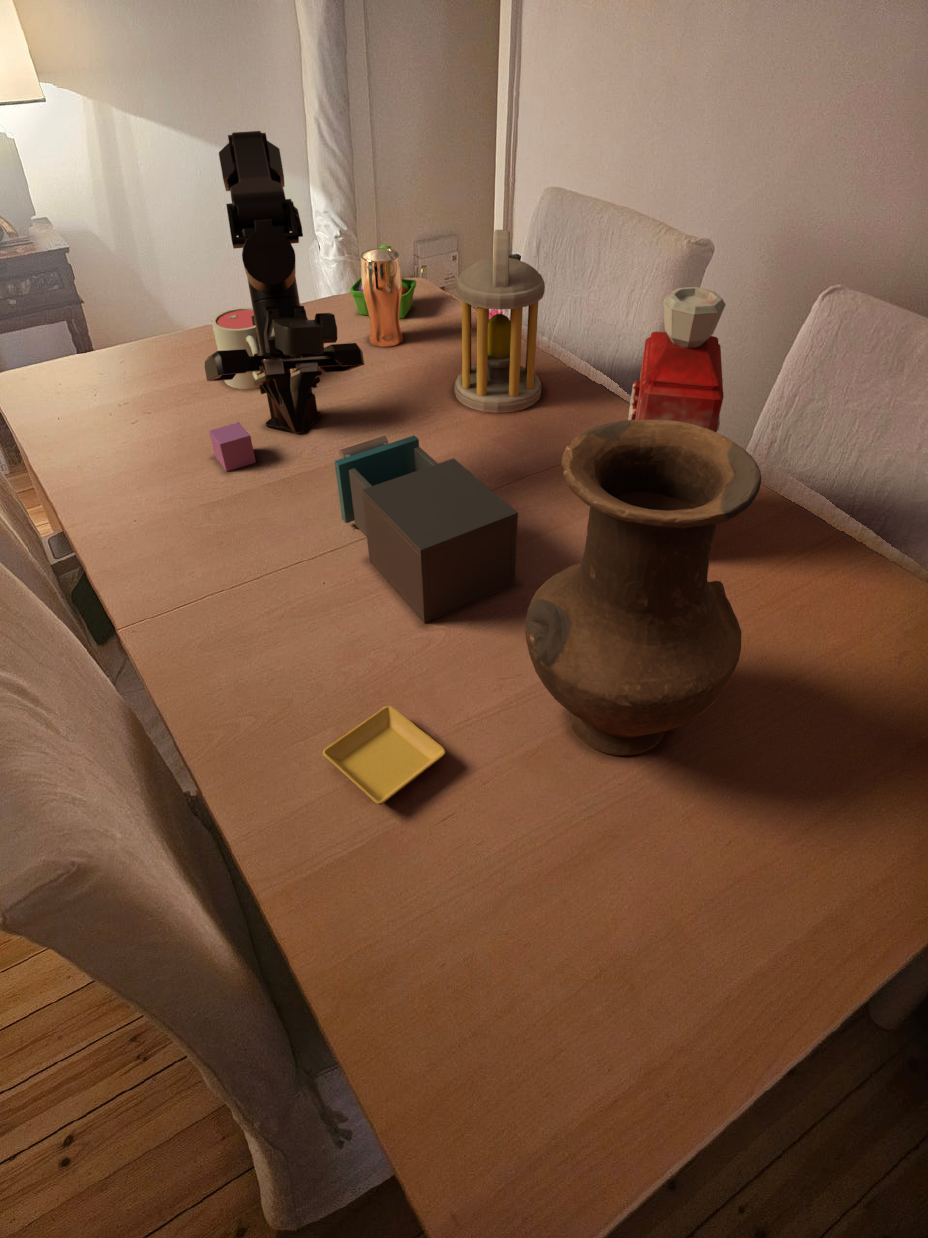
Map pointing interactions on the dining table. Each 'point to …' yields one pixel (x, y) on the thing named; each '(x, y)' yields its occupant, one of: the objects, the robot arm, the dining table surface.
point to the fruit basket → (406, 295)
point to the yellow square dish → (384, 754)
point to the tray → (374, 471)
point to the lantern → (499, 331)
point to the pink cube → (232, 446)
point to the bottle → (683, 363)
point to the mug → (237, 340)
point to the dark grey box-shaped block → (440, 538)
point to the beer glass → (382, 295)
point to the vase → (642, 583)
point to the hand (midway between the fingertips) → (297, 432)
